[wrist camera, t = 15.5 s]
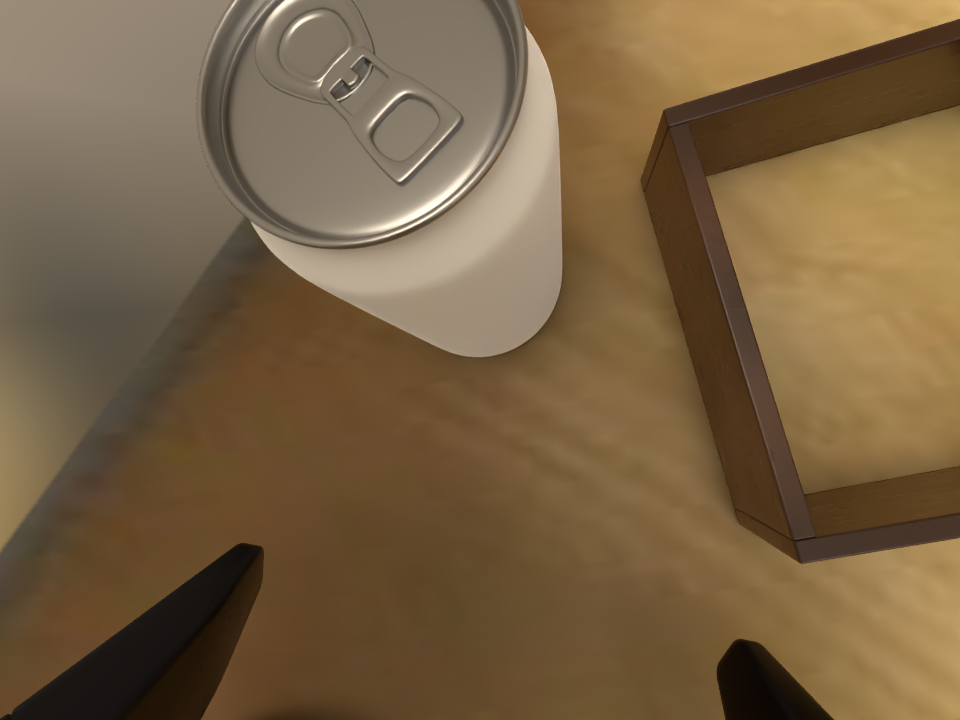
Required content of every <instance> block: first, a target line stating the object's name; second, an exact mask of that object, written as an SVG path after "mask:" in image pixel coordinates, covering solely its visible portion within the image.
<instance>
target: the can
mask: <svg viewBox="0 0 960 720" xmlns="http://www.w3.org/2000/svg"><path fill="white" fill-rule="evenodd" d="M196 120H197V129H198V135H199V141H200V145H201V148H202V152H203V155H204V158H205V161H206V163H207V166H208V168H209V170H210V172H211V174H212V176H213V178H214V180H215V182H216V183H217V185H218V186H219V188H220V189H221V191H222V192H223V194H224V195H225V196H226V198H227V199H228V200H229V201H230V202H231V204H232V205H233V206H234V207H235V208H236V209H237V210H238V211H239V212H240V213H242V215H244V216H245V217H246V218H247V219H248V220H250V222H251V223H252V225H253V227H254V228H255V230H256V232H257V233H258V235H259V236H260V237H261V239H262V240H263V242H264V243H265V244H266V245H267V247H268V248H269V249H270V250H271V251H272V252H273V253H274V254H275V255H276V256H277V257H278V258H279V259H280V260H281V261H282V262H283V263H284V264H286V265H287V266H288V267H289V268H291V269H292V270H293V271H295V272H296V273H297V274H299V275H300V276H301V277H303V278H305V279H306V280H308V281H310V282H311V283H313V284H315V285H316V286H318V287H320V288H322V289H323V290H325V291H327V292H329V293H331V294H333V295H335V296H337V297H338V298H340V299H342V300H344V301H346V302H348V303H350V304H352V305H354V306H356V307H358V308H360V309H362V310H364V311H366V312H368V313H370V314H372V315H374V316H376V317H378V318H380V319H382V320H384V321H386V322H388V323H390V324H392V325H394V326H396V327H398V328H400V329H402V330H404V331H406V332H408V333H410V334H412V335H414V336H416V337H418V338H420V339H422V340H424V341H426V342H428V343H430V344H432V345H434V346H436V347H438V348H441V349H443V350H445V351H448V352H450V353H453V354H457V355H461V356H467V357H488V356H494V355H499V354H502V353H505V352H508V351H510V350H512V349H515V348H516V347H518V346H520V345H522V344H523V343H525V342H526V341H528V340H529V339H530V338H531V337H533V336H534V335H535V334H536V333H537V332H538V331H539V330H540V329H541V328H542V326H543V325H544V324H545V323H546V321H547V320H548V318H549V317H550V315H551V313H552V311H553V309H554V307H555V305H556V302H557V299H558V296H559V292H560V288H561V281H562V219H561V182H560V153H559V130H558V117H557V106H556V99H555V94H554V89H553V85H552V80H551V77H550V73H549V70H548V67H547V64H546V62H545V59H544V57H543V55H542V52H541V50H540V49H539V47H538V45H537V43H536V41H535V40H534V38H533V37H532V35H531V33H530V32H529V30H528V29H527V28H526V26H525V24H524V20H523V16H522V13H521V9H520V6H519V4H518V1H517V0H232V1H231V2H230V3H229V5H228V7H227V8H226V10H225V11H224V13H223V15H222V16H221V18H220V20H219V21H218V24H217V25H216V27H215V29H214V32H213V34H212V36H211V38H210V41H209V43H208V46H207V49H206V51H205V54H204V57H203V61H202V65H201V69H200V73H199V79H198V85H197V94H196Z"/></svg>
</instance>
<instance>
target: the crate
mask: <svg viewBox="0 0 960 720" xmlns="http://www.w3.org/2000/svg"><path fill="white" fill-rule="evenodd" d="M959 104H960V19H958V20H955V21H951V22H948V23H945V24H941V25H938V26H935V27H932V28H928V29H925V30H922V31H919V32H915V33H912V34H909V35H906V36H902V37H899V38H896V39H893V40H889V41H886V42H883V43H879V44H876V45H873V46H870V47H866V48H863V49H860V50H857V51H853V52H850V53H847V54H844V55H840V56H837V57H834V58H830V59H827V60H824V61H821V62H817V63H814V64H811V65H808V66H804V67H801V68H798V69H795V70H791V71H788V72H785V73H781V74H778V75H775V76H772V77H768V78H765V79H762V80H759V81H755V82H752V83H749V84H746V85H742V86H739V87H736V88H732V89H729V90H726V91H723V92H719V93H716V94H713V95H710V96H706V97H703V98H700V99H697V100H693V101H690V102H687V103H683V104H680V105H677V106H674V107H670V108H667V109H665V110H664V111H663V113H662V117H661V120H660V123H659V126H658V129H657V132H656V135H655V138H654V141H653V144H652V147H651V150H650V153H649V156H648V159H647V162H646V166H645V169H644V172H643V175H642V178H641V184H642V187H643V191H644V193H645V198H646V201H647V205H648V208H649V212H650V215H651V219H652V222H653V226H654V229H655V232H656V236H657V239H658V243H659V246H660V250H661V253H662V257H663V260H664V264H665V267H666V271H667V274H668V278H669V281H670V285H671V288H672V292H673V295H674V299H675V302H676V306H677V309H678V312H679V316H680V319H681V323H682V326H683V330H684V333H685V337H686V340H687V344H688V347H689V351H690V354H691V358H692V361H693V365H694V368H695V372H696V375H697V379H698V382H699V386H700V389H701V392H702V396H703V399H704V403H705V406H706V410H707V413H708V417H709V420H710V424H711V427H712V431H713V434H714V438H715V441H716V445H717V448H718V452H719V455H720V459H721V462H722V465H723V469H724V472H725V476H726V479H727V483H728V486H729V490H730V493H731V497H732V500H733V504H734V506H735V507H736V509H735V511H736V514H737V517H738V521H739V524H740V525H742V526H743V527H745V528H746V529H748V530H749V531H751V532H753V533H754V534H756V535H757V536H759V537H760V538H762V539H763V540H765V541H766V542H768V543H770V544H771V545H773V546H774V547H776V548H777V549H779V550H780V551H782V552H783V553H785V554H786V555H788V556H790V557H791V558H793V559H794V560H796V561H797V562H799V563H801V564H804V563H810V562H816V561H822V560H828V559H835V558H841V557H847V556H853V555H859V554H865V553H871V552H877V551H883V550H889V549H895V548H902V547H908V546H914V545H920V544H926V543H932V542H938V541H944V540H950V539H956V538H960V467H955V468H949V469H944V470H938V471H933V472H928V473H922V474H917V475H911V476H906V477H900V478H895V479H889V480H884V481H879V482H873V483H868V484H862V485H857V486H851V487H846V488H840V489H835V490H830V491H824V492H819V493H813V494H808V495H804V493H803V490H802V487H801V484H800V481H799V477H798V474H797V471H796V468H795V464H794V461H793V458H792V455H791V451H790V448H789V445H788V442H787V438H786V435H785V432H784V429H783V426H782V422H781V419H780V416H779V413H778V409H777V406H776V403H775V400H774V396H773V393H772V390H771V387H770V383H769V380H768V377H767V374H766V370H765V367H764V364H763V361H762V358H761V354H760V351H759V348H758V345H757V341H756V338H755V335H754V332H753V328H752V325H751V322H750V319H749V315H748V312H747V309H746V306H745V302H744V299H743V296H742V293H741V290H740V286H739V283H738V280H737V277H736V273H735V270H734V267H733V264H732V260H731V257H730V254H729V251H728V247H727V244H726V241H725V238H724V235H723V231H722V228H721V225H720V222H719V218H718V215H717V212H716V209H715V205H714V202H713V199H712V196H711V192H710V189H709V186H708V183H707V179H706V176H708V175H711V174H715V173H718V172H722V171H726V170H729V169H733V168H736V167H740V166H743V165H747V164H750V163H754V162H757V161H761V160H764V159H768V158H771V157H775V156H779V155H782V154H786V153H789V152H793V151H796V150H800V149H803V148H807V147H810V146H814V145H817V144H821V143H824V142H828V141H832V140H835V139H839V138H842V137H846V136H849V135H853V134H856V133H860V132H863V131H867V130H870V129H874V128H878V127H881V126H885V125H888V124H892V123H895V122H899V121H902V120H906V119H909V118H913V117H916V116H920V115H923V114H927V113H931V112H934V111H938V110H941V109H945V108H948V107H952V106H955V105H959Z"/></svg>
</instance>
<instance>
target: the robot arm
mask: <svg viewBox="0 0 960 720" xmlns="http://www.w3.org/2000/svg"><path fill="white" fill-rule="evenodd" d="M263 561H264V550H263V548H262V547H261V546H257V545H252V544H247V543H240V544H238V545H236V546H235V547H233V548H232V549H230V550H229V551H228V552H226V553H225V554H224V555H222V556H221V557H220V558H218V559H217V560H216V561H214V562H213V563H211V564H210V565H209V566H207V567H206V568H205V569H203V570H202V571H201V572H199V573H198V574H197V575H195V576H194V577H192V578H191V579H190V580H188V581H187V582H186V583H184V584H183V585H182V586H180V587H179V588H178V589H176V590H175V591H173V592H172V593H171V594H169V595H168V596H167V597H165V598H164V599H163V600H161V601H160V602H159V603H157V604H156V605H154V606H153V607H152V608H150V609H149V610H148V611H146V612H145V613H144V614H142V615H141V616H139V617H138V618H137V619H135V620H134V621H133V622H131V623H130V624H129V625H127V626H126V627H125V628H123V629H122V630H120V631H119V632H118V633H116V634H115V635H114V636H112V637H111V638H110V639H108V640H107V641H106V642H104V643H103V644H101V645H100V646H99V647H97V648H96V649H95V650H93V651H92V652H91V653H89V654H88V655H87V656H85V657H84V658H82V659H81V660H80V661H78V662H77V663H76V664H74V665H73V666H72V667H70V668H69V669H68V670H66V671H65V672H63V673H62V674H61V675H59V676H58V677H57V678H55V679H54V680H53V681H51V682H50V683H49V684H47V685H46V686H44V687H43V688H42V689H40V690H39V691H38V692H36V693H35V694H34V695H32V696H31V697H30V698H28V699H27V700H25V701H24V702H23V703H21V704H20V705H19V706H17V707H16V708H15V709H14V710H13V712H12V715H10V714H7V715H5V716H3V717H2V718H1V719H0V720H201V718H202V716H203V714H204V712H205V710H206V709H207V707H208V705H209V703H210V701H211V699H212V698H213V696H214V694H215V692H216V690H217V688H218V686H219V684H220V682H221V680H222V677H223V675H224V673H225V671H226V668H227V666H228V664H229V661H230V659H231V657H232V654H233V652H234V649H235V647H236V645H237V642H238V640H239V638H240V635H241V633H242V630H243V628H244V626H245V623H246V621H247V619H248V616H249V614H250V611H251V609H252V607H253V604H254V602H255V600H256V597H257V595H258V592H259V590H260V587H261V583H262V578H263ZM717 681H718V686H719V690H720V695H721V700H722V705H723V710H724V715H725V720H834V719H833V718H832V717H831V716H830V715H829V714H828V713H827V712H826V711H825V710H824V709H823V708H822V707H821V706H820V705H819V704H818V703H817V701H816V700H815V699H814V698H813V697H812V696H811V695H810V694H809V693H808V692H807V691H806V690H805V689H804V688H803V687H802V686H801V685H800V684H799V683H798V682H797V681H796V680H795V679H794V678H793V677H792V676H791V674H790V673H789V672H788V671H787V670H786V669H785V668H784V667H783V666H782V665H781V664H780V663H779V662H778V661H777V660H776V659H775V658H774V657H773V656H772V655H771V654H770V653H769V652H768V651H767V650H766V649H765V648H764V647H763V646H762V645H761V644H759V643H757V642H754V641H749V640H744V639H737V640H735V641H734V642H733V643H732V644H731V646H730V647H729V649H728V650H727V651H726V653H725V654H724V656H723V657H722V659H721V660H720V661H719V663H718V666H717Z"/></svg>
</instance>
